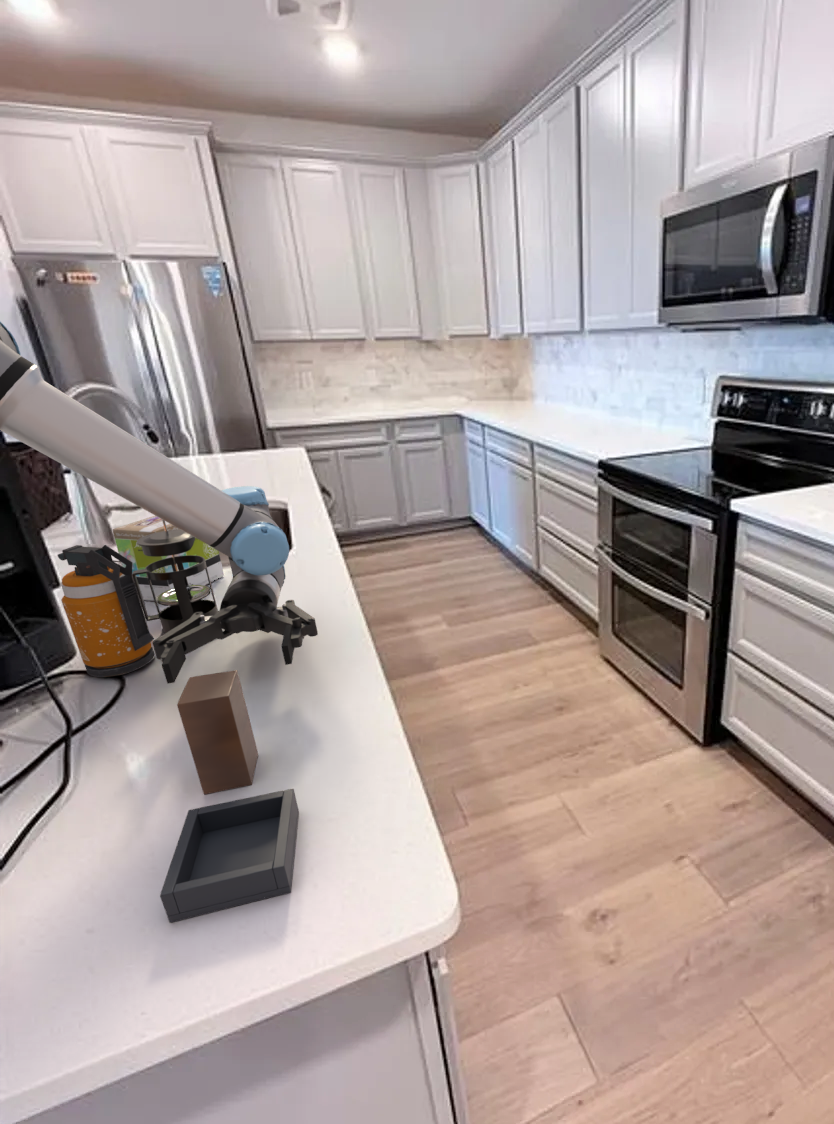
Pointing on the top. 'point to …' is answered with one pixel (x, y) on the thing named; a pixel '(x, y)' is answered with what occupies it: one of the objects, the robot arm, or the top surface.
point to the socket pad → (232, 855)
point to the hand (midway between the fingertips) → (228, 664)
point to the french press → (174, 578)
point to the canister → (105, 612)
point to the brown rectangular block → (218, 731)
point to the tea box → (134, 553)
